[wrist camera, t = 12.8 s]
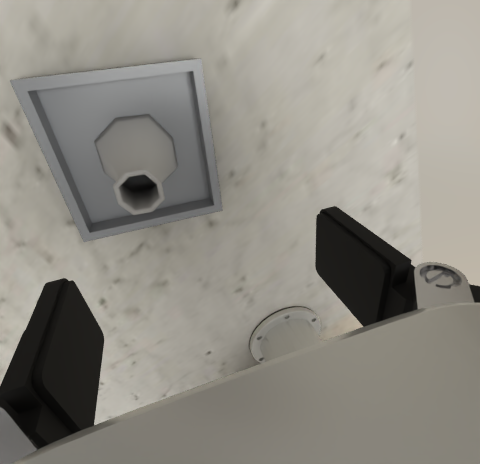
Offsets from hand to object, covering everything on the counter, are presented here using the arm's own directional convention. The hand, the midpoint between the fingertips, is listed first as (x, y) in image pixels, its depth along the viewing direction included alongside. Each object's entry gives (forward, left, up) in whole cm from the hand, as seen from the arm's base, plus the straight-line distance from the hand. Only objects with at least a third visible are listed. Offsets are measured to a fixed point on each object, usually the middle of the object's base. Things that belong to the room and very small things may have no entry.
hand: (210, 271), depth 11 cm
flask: (0, +3, -21) cm, 21 cm away
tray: (0, +3, -21) cm, 21 cm away
